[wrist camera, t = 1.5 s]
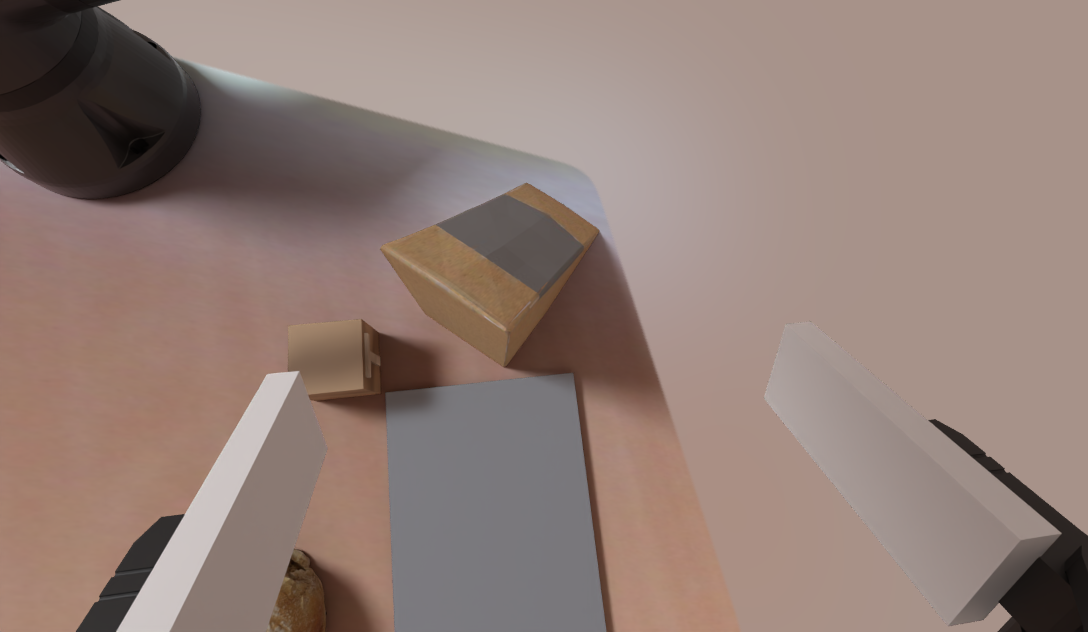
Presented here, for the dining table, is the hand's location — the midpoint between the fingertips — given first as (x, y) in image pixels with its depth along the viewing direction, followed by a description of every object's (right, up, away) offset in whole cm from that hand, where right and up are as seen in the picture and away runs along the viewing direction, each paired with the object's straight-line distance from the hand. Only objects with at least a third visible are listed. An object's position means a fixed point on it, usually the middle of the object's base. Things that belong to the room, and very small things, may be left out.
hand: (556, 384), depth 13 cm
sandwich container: (-3, +6, +28) cm, 29 cm away
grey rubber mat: (-4, -13, +23) cm, 27 cm away
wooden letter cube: (-16, -2, +25) cm, 30 cm away
